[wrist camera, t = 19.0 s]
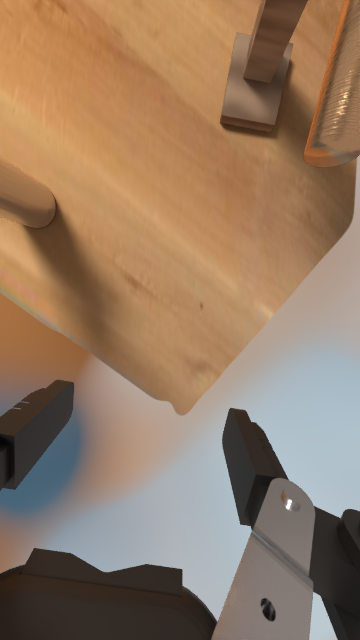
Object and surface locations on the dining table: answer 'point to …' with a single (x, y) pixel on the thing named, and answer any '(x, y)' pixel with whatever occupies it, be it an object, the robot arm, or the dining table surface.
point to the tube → (339, 97)
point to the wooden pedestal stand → (261, 66)
